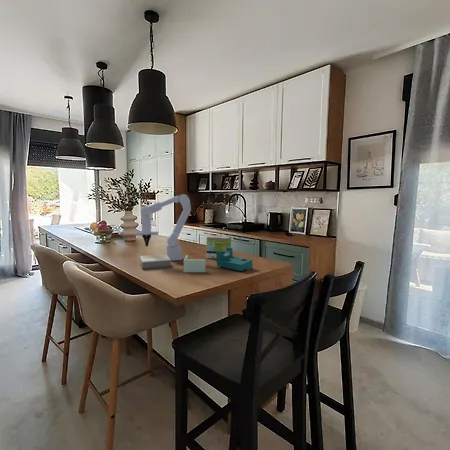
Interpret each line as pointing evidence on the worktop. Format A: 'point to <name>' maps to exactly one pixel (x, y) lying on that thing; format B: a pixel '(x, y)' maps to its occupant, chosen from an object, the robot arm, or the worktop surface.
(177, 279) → the worktop surface
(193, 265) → the l-shaped corner panel
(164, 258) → the lid
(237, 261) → the teal stepped block
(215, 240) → the tea box
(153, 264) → the storage box
